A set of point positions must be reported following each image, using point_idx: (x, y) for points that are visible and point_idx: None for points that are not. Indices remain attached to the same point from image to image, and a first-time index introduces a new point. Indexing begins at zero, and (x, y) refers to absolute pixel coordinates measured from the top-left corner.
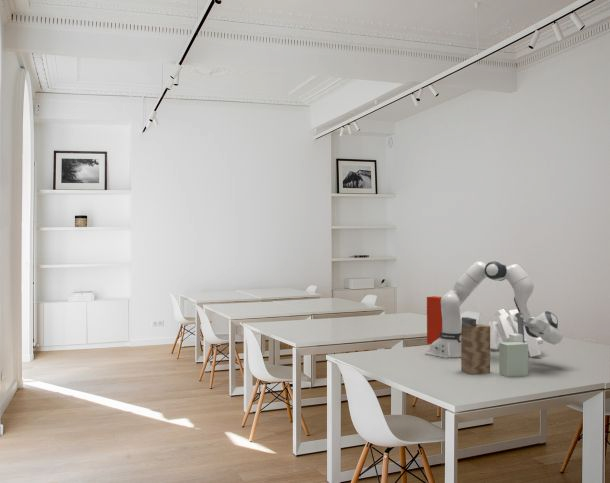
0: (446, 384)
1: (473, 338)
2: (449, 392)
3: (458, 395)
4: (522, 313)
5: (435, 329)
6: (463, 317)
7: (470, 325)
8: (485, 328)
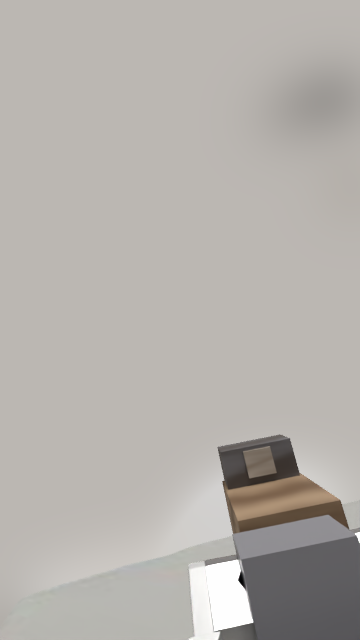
0: (156, 615)
1: None
2: (92, 606)
3: (61, 617)
4: (239, 559)
5: None
6: (280, 435)
7: (223, 473)
8: (235, 520)
